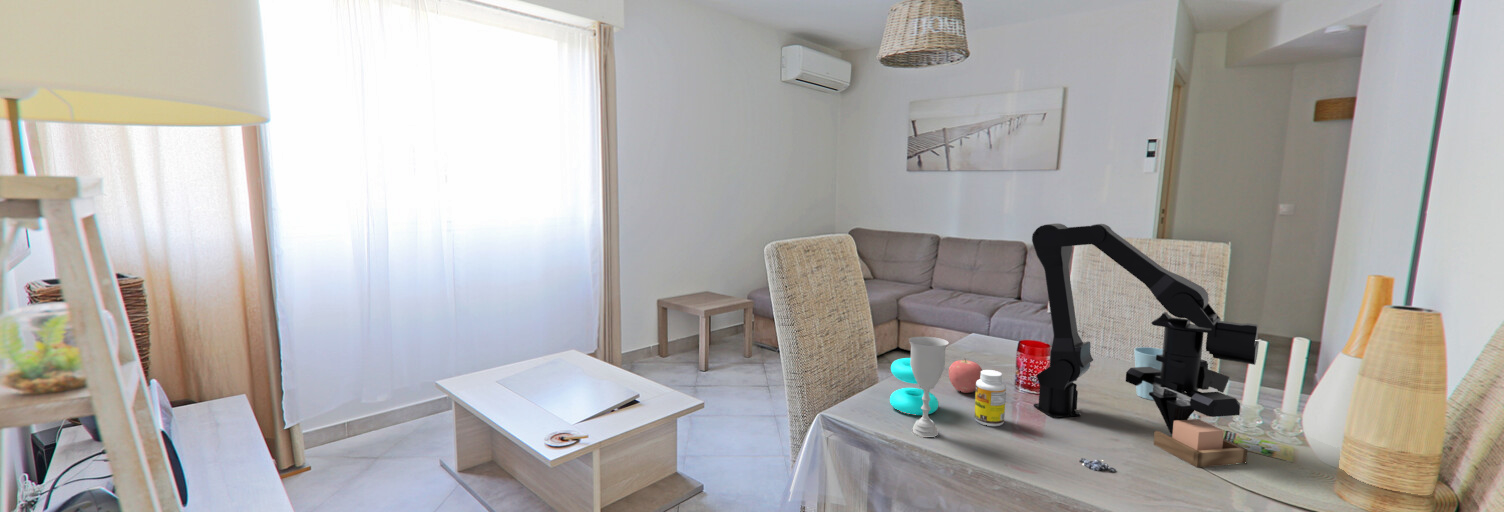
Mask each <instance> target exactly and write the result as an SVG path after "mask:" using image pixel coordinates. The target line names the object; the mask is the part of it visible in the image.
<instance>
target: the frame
mask: <svg viewBox="0 0 1504 512" xmlns="http://www.w3.org/2000/svg"><path fill="white" fill-rule="evenodd" d="M1153 445H1154V446H1156V447H1158V448H1159V449H1161V450H1164V451H1166V453H1168V454H1171V455H1173V456H1175V457H1177V458H1178V459H1181V460H1182V461H1184V462H1186V463H1188V464H1190V465H1192V467H1193V466H1194V467H1196V468H1205V467H1206V468H1207V467H1217V466H1218V467H1219V466H1229V465H1228V464H1233V465H1237V464H1236V463H1245V462H1246V463H1247V461H1248V451H1249V449H1248V448H1246V447H1243V446H1241V445H1239V444H1236V443H1235V442H1232V441H1230V440H1227V439H1226V438H1223V447H1222V449H1215V450H1201V451H1198V450H1196V449H1194V448H1192V447H1190V446H1188V445H1186V444H1184V443H1182V442H1179V441H1177V440H1175V439H1173V438H1172V436H1169V435H1168V434H1165V433H1163V432H1161V431H1159V430H1158V431H1156V430H1155V431H1154V435H1153Z"/></svg>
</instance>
